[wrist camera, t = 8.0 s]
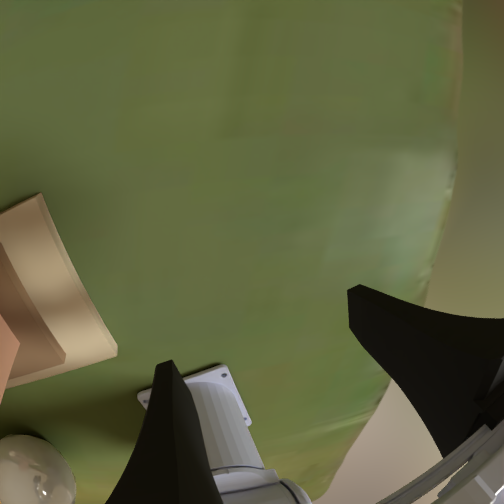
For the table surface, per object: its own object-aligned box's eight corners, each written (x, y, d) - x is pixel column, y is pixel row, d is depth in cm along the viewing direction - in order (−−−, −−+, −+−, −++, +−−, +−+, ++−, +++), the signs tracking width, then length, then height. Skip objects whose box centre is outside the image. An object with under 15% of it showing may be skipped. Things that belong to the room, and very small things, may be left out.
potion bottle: (86, 443, 27) (-24, 416, 23) (58, 445, 19) (-70, 404, 15) (91, 518, 22) (-22, 486, 18) (67, 543, 14) (-66, 492, 10)
